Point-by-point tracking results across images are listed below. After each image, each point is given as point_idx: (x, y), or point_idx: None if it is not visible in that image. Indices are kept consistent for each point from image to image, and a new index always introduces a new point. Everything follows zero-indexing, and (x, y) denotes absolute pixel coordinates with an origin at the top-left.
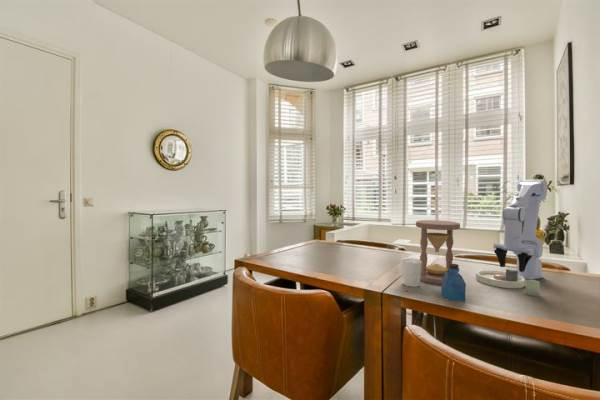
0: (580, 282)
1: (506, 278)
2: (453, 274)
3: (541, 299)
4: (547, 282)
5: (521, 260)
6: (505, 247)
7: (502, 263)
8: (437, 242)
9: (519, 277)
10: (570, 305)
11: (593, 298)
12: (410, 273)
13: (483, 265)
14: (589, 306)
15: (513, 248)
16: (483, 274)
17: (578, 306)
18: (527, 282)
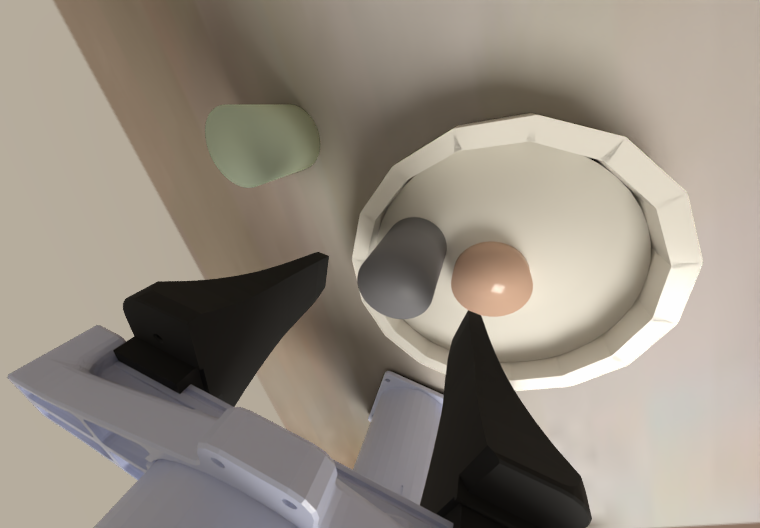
0: (296, 410)
1: (432, 235)
2: None
3: (236, 82)
4: (341, 369)
5: (229, 284)
6: (271, 486)
7: (462, 341)
8: None
9: (400, 330)
10: (163, 108)
11: (203, 273)
12: None
13: (628, 506)
14: (151, 164)
15: (167, 446)
16: (612, 314)
17: (153, 125)
18: (251, 112)
